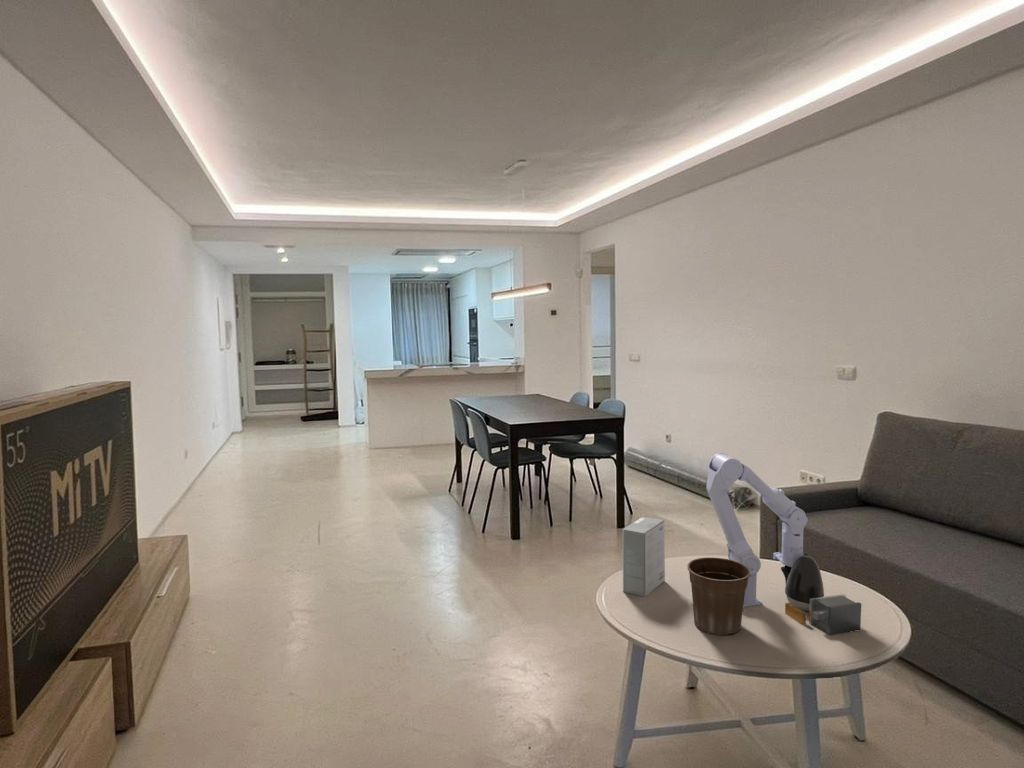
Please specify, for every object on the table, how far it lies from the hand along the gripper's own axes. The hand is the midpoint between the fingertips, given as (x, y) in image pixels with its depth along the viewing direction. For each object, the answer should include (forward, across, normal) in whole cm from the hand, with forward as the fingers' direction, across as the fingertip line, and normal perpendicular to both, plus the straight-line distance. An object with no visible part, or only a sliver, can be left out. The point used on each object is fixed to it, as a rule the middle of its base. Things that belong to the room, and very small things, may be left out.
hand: (791, 590), depth 191 cm
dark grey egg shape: (+3, -6, 0) cm, 6 cm away
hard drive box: (+2, +21, +37) cm, 43 cm away
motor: (+3, -15, 0) cm, 15 cm away
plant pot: (+2, -9, +30) cm, 32 cm away
